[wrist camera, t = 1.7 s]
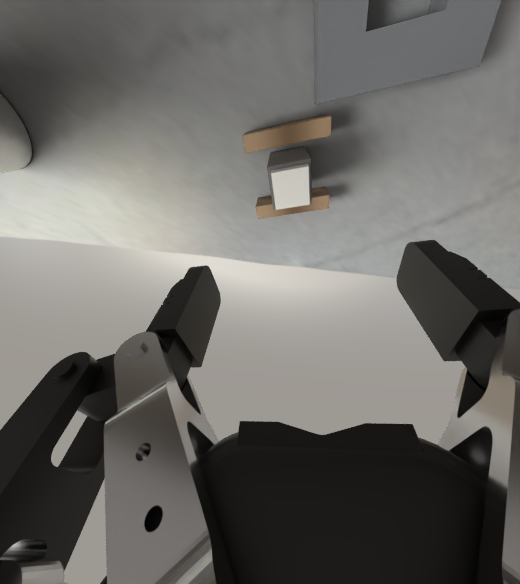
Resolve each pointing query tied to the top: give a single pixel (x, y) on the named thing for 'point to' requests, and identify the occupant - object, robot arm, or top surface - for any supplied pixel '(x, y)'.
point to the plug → (290, 178)
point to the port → (395, 45)
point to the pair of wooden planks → (286, 136)
